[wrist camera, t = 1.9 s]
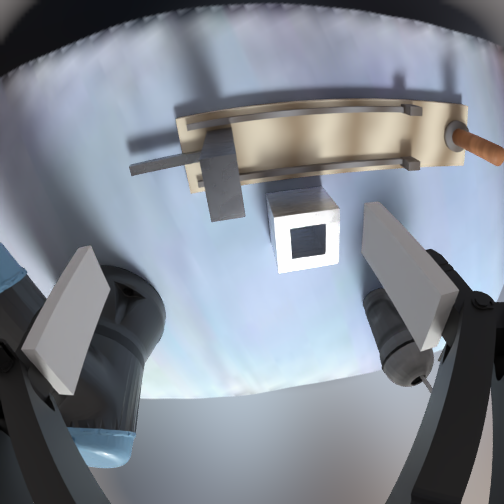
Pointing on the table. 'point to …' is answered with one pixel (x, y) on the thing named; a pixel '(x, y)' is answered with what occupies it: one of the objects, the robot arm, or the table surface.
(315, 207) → the link
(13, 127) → the table surface
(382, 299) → the beverage cup
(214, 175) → the grey l-shaped block
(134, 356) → the robot arm
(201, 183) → the board
